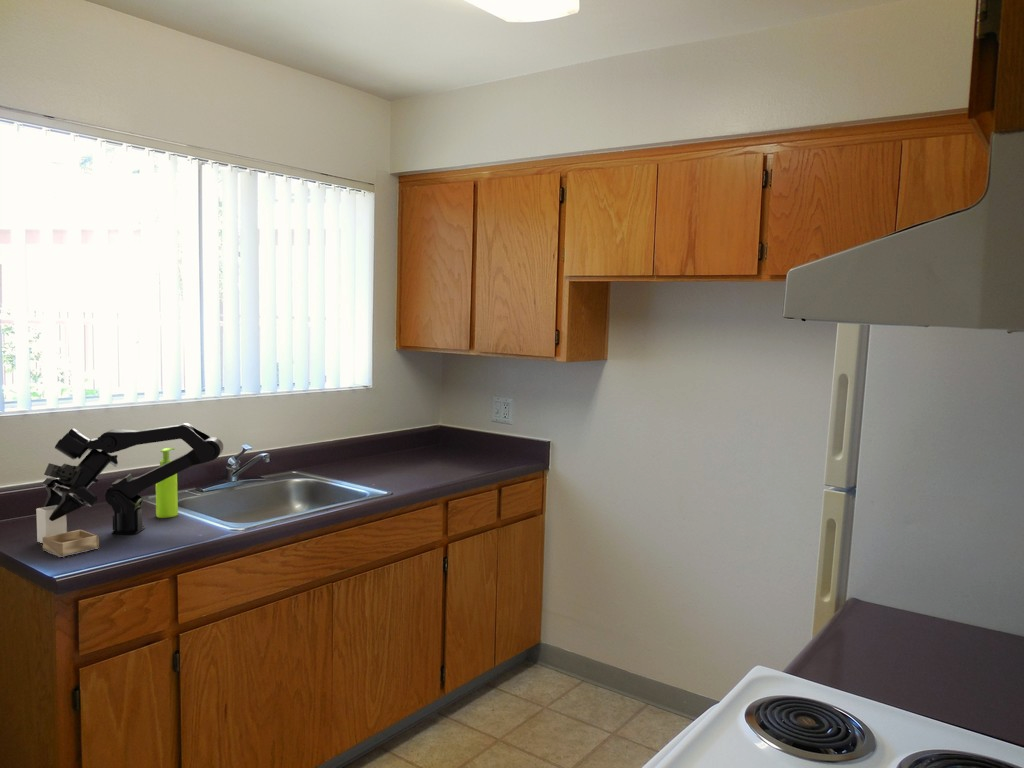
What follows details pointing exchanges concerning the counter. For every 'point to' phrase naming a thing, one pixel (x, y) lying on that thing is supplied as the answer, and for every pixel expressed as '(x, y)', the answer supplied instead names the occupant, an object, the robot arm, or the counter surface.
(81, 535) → the pine crate
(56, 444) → the robot arm
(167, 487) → the soap dispenser
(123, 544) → the counter surface
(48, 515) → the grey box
